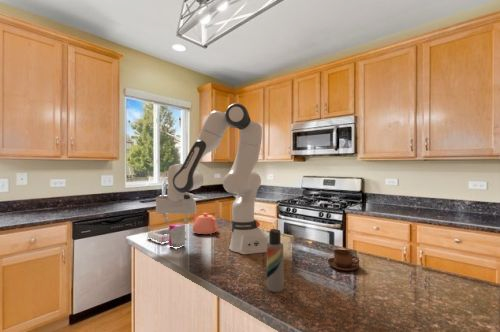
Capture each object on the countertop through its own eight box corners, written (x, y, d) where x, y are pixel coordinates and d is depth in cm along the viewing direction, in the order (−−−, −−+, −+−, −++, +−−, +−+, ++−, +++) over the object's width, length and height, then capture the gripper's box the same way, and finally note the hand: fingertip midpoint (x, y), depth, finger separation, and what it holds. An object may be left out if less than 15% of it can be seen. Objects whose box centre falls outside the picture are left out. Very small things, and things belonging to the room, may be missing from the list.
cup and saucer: (356, 263, 110) (356, 248, 110) (361, 274, 98) (361, 258, 98) (327, 260, 113) (327, 246, 113) (328, 271, 102) (328, 255, 102)
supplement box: (185, 246, 134) (185, 224, 134) (176, 249, 129) (176, 226, 129) (177, 244, 137) (177, 223, 137) (168, 247, 132) (168, 225, 132)
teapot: (183, 232, 161) (182, 212, 161) (201, 227, 173) (201, 209, 173) (207, 238, 148) (207, 216, 148) (225, 232, 160) (225, 212, 160)
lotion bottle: (273, 282, 92) (272, 226, 92) (286, 287, 88) (286, 229, 88) (263, 288, 87) (263, 230, 87) (277, 294, 84) (277, 232, 84)
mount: (171, 234, 158) (171, 226, 158) (185, 238, 148) (185, 230, 148) (147, 239, 146) (147, 231, 146) (161, 244, 137) (161, 235, 137)
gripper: (153, 196, 129) (153, 223, 129) (195, 196, 130) (195, 223, 130) (157, 194, 135) (157, 220, 135) (196, 194, 136) (196, 220, 137)
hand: (176, 222), depth 133 cm, fingers open, 8 cm apart
